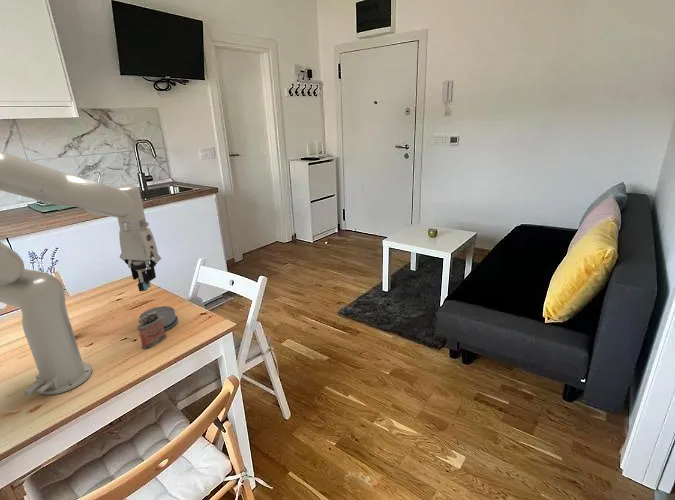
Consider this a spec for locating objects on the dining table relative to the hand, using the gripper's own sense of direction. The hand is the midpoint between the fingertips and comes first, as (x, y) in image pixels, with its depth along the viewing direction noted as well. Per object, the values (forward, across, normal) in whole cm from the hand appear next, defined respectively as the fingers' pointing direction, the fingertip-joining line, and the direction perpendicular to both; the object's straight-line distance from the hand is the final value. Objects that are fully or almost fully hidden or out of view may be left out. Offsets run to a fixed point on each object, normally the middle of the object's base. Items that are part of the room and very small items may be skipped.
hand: (144, 278), depth 125 cm
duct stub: (+17, -2, 0) cm, 17 cm away
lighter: (+17, -7, +10) cm, 21 cm away
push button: (+4, 0, 0) cm, 4 cm away
